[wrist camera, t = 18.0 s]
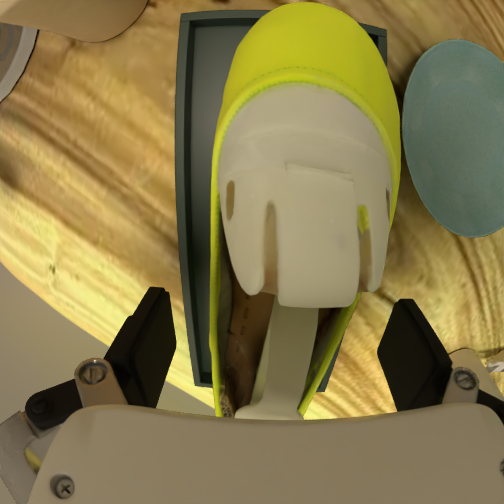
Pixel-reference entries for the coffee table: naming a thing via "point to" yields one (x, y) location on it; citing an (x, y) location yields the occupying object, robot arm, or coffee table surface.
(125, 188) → the coffee table surface
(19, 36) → the french press
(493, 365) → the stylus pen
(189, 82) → the boot tray
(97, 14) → the candle
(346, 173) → the ballet flat
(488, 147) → the saucer
